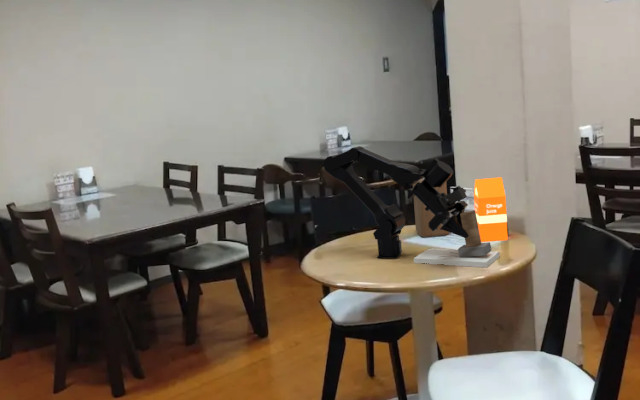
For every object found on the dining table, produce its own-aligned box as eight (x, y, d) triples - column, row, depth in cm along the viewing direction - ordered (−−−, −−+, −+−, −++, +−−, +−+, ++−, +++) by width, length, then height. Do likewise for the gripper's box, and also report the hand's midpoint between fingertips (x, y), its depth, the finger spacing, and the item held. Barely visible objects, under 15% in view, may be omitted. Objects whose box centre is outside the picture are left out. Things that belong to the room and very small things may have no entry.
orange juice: (475, 237, 224) (472, 178, 221) (502, 234, 223) (499, 175, 220) (480, 242, 216) (477, 181, 213) (508, 240, 216) (505, 178, 212)
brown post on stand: (459, 257, 194) (451, 215, 193) (465, 252, 199) (457, 211, 198) (486, 255, 190) (477, 212, 189) (491, 250, 194) (483, 208, 193)
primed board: (414, 263, 199) (413, 257, 198) (429, 252, 209) (429, 248, 208) (486, 267, 187) (486, 262, 187) (499, 256, 197) (499, 251, 197)
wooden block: (415, 232, 239) (411, 177, 236) (443, 229, 240) (439, 174, 236) (421, 238, 229) (417, 180, 226) (450, 235, 230) (446, 177, 227)
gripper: (436, 184, 187) (476, 223, 183) (459, 174, 202) (497, 210, 198) (412, 211, 192) (451, 250, 188) (436, 199, 208) (473, 235, 204)
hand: (469, 235), depth 194 cm, fingers closed on brown post on stand, 3 cm apart
